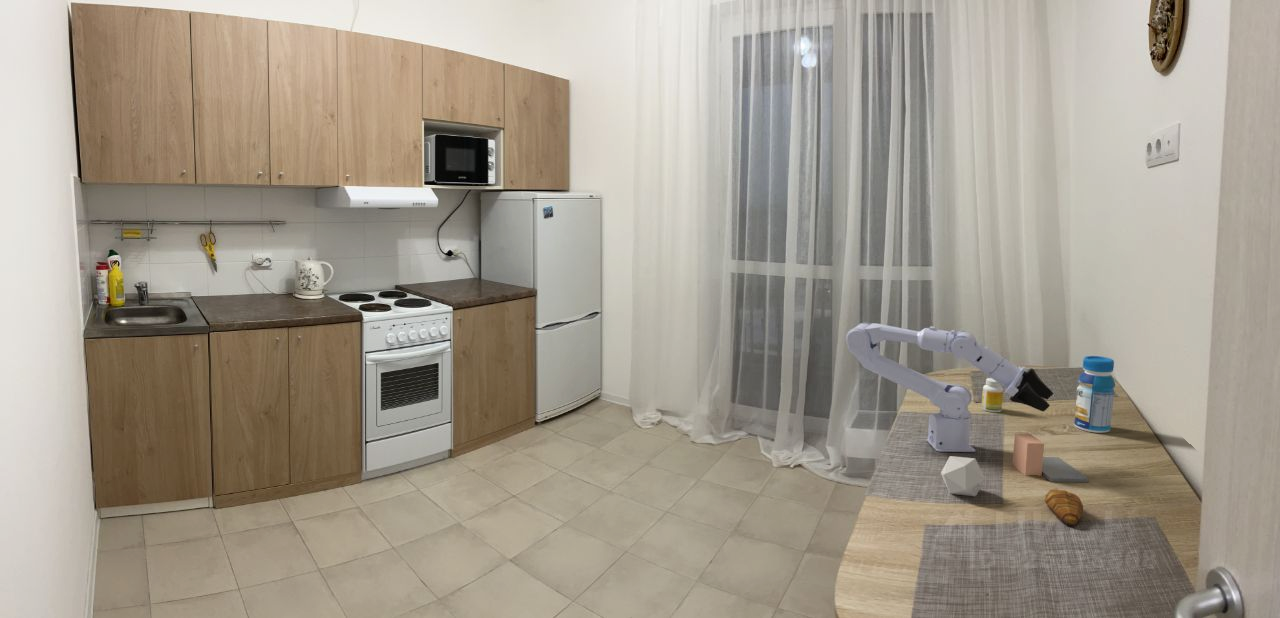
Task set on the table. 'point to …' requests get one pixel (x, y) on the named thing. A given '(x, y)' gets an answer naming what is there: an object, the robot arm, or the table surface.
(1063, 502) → the croissant
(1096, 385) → the beverage bottle
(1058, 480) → the board
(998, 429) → the table surface
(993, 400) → the supplement bottle
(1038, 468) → the block
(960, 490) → the die
